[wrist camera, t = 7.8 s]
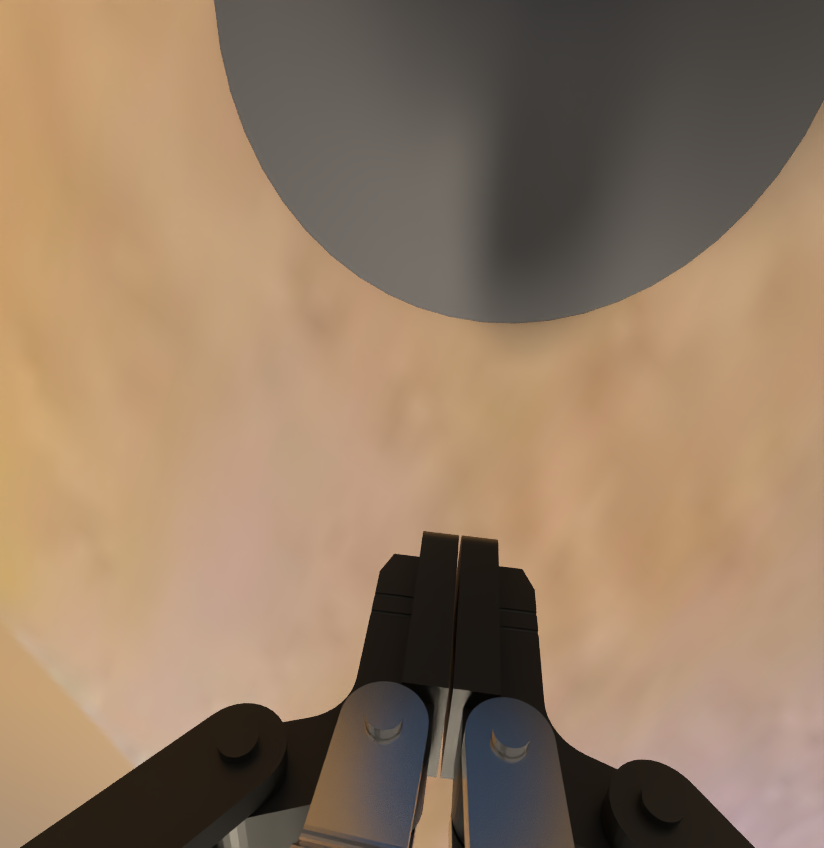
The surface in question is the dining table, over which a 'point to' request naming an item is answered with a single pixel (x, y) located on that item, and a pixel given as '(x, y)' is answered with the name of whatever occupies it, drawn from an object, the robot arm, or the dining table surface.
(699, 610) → the dining table surface
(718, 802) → the dining table surface
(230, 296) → the dining table surface
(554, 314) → the disc
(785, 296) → the dining table surface
